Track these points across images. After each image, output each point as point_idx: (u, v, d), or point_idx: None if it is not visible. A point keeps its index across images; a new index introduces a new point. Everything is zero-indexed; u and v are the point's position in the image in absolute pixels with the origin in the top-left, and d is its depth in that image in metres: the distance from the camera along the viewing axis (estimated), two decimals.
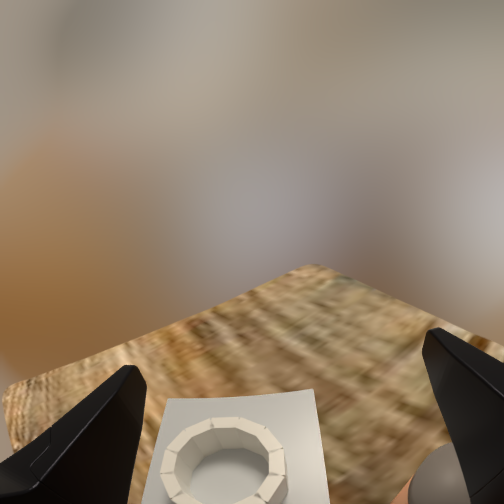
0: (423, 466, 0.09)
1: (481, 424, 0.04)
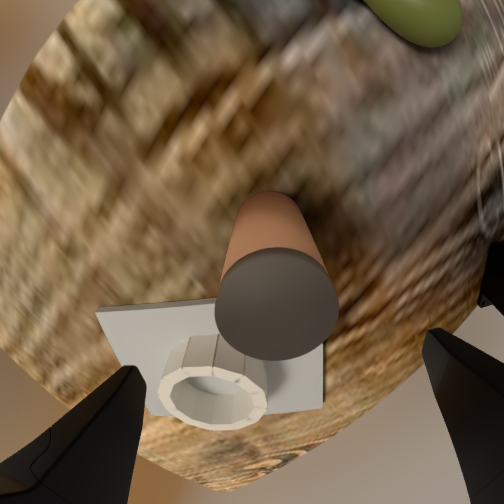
0: (242, 349, 0.11)
1: (481, 424, 0.04)
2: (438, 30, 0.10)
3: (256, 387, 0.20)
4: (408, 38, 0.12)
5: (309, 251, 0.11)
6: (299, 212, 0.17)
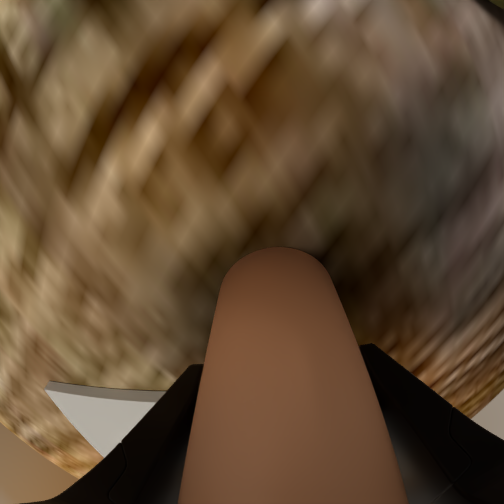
0: None
1: (401, 456, 0.05)
2: None
3: None
4: None
5: (387, 503, 0.03)
6: (336, 299, 0.09)
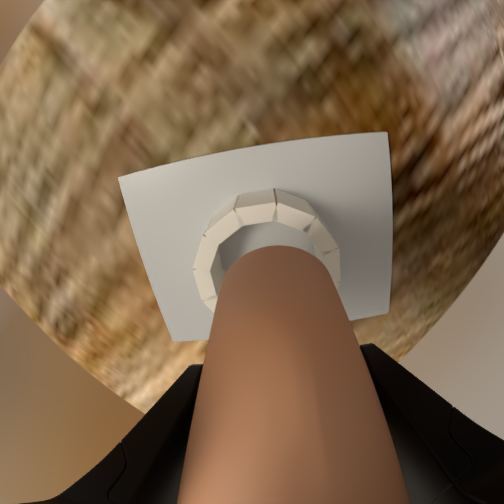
0: None
1: (401, 456, 0.05)
2: None
3: (330, 240, 0.16)
4: None
5: (389, 502, 0.03)
6: (337, 297, 0.09)
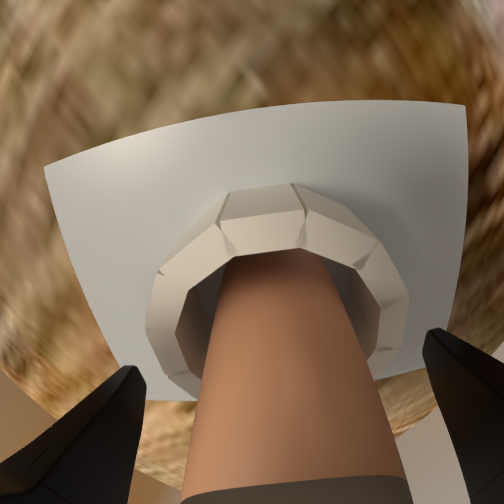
0: None
1: (481, 424, 0.04)
2: None
3: (398, 283, 0.08)
4: None
5: (380, 452, 0.04)
6: (331, 282, 0.09)
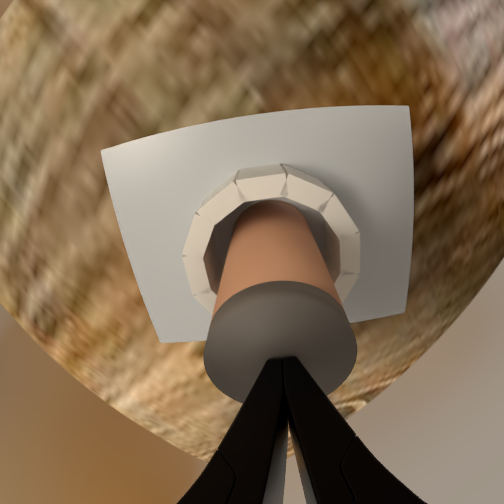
0: (238, 398, 0.09)
1: (302, 476, 0.05)
2: None
3: (349, 222, 0.13)
4: None
5: (322, 283, 0.09)
6: (306, 225, 0.14)
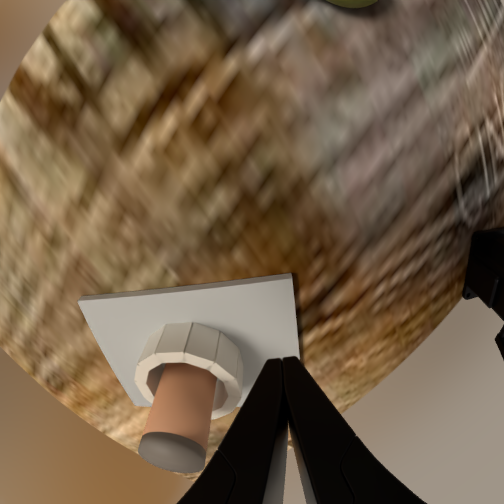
0: (158, 466, 0.16)
1: (302, 476, 0.05)
2: None
3: (228, 375, 0.20)
4: (330, 0, 0.12)
5: (186, 431, 0.16)
6: None
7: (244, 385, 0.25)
